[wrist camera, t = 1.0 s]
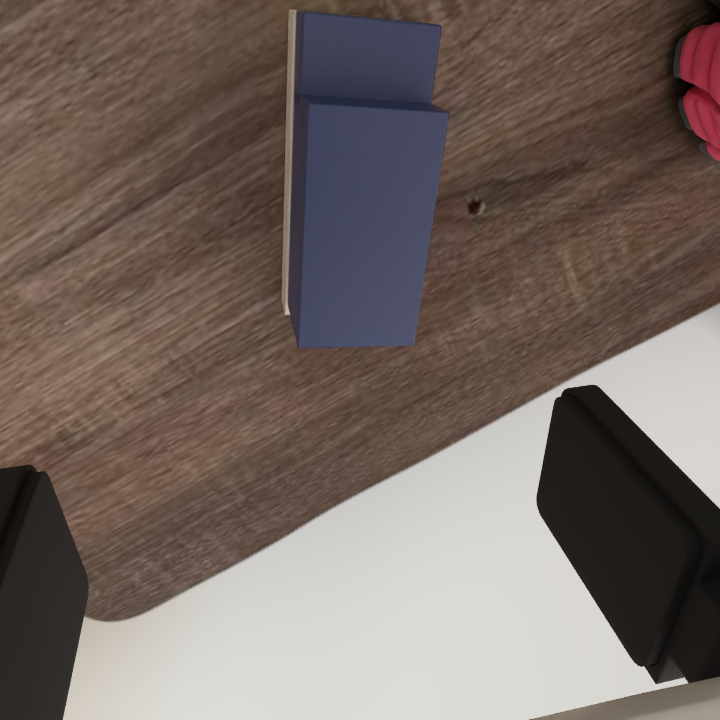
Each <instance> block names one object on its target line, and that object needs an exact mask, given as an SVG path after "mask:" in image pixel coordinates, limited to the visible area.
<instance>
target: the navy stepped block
mask: <svg viewBox="0 0 720 720" xmlns="http://www.w3.org/2000/svg"><path fill="white" fill-rule="evenodd" d="M441 28H442V27H441V25H437V24H429V23H421V22H412V21H402V20H392V19H382V18H372V17H362V16H352V15H342V14H332V13H322V12H313V11H303V10H293V9H290V10H289V19H288V60H287V101H286V142H285V182H284V223H283V264H282V304H283V308H284V312H285V315H290V317H291V321H292V325H293V329H294V333H295V337H296V341H297V345H298V348H331V347H371V346H410V345H414V342H415V335H416V329H417V322H418V316H419V309H420V303H421V296H422V289H423V283H424V276H425V270H426V263H427V257H428V250H429V243H430V237H431V230H432V224H433V217H434V210H435V204H436V197H437V191H438V184H439V178H440V171H441V164H442V158H443V151H444V145H445V138H446V132H447V125H448V118H449V112H447V111H445V110H443V109H441V108H439V107H437V106H435V105H433V104H431V101H432V94H433V87H434V80H435V72H436V65H437V58H438V50H439V43H440V36H441Z"/></svg>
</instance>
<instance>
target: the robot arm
mask: <svg viewBox="0 0 720 720" xmlns="http://www.w3.org/2000/svg"><path fill="white" fill-rule="evenodd" d="M537 507H538V510H539V513H540V515H541V517H542V518H543V520H544V521H545V523H546V525H547V526H548V528H549V529H550V531H551V533H552V534H553V536H554V537H555V539H556V540H557V542H558V543H559V545H560V546H561V548H562V550H563V551H564V553H565V555H566V556H567V558H568V559H569V561H570V562H571V564H572V566H573V567H574V569H575V570H576V572H577V574H578V575H579V576H580V578H581V580H582V581H583V583H584V584H585V586H586V588H587V589H588V591H589V592H590V594H591V596H592V597H593V599H594V600H595V602H596V603H597V605H598V607H599V608H600V610H601V611H602V613H603V614H604V616H605V618H606V619H607V621H608V622H609V624H610V626H611V627H612V629H613V630H614V632H615V633H616V635H617V637H618V638H619V640H620V641H621V643H622V645H623V646H624V648H625V649H626V651H627V652H628V654H629V656H630V657H631V658H632V660H633V661H634V662H635V663H636V664H637V665H638V666H641V667H642V666H645V668H646V669H647V671H648V673H649V674H650V676H651V677H652V679H653V680H654V682H655V683H656V684H658V683H663V682H666V681H671V680H674V679H679V678H683V677H685V678H686V680H687V681H688V684H684V685H679V686H674V687H670V688H665V689H660V690H656V691H651V692H646V693H642V694H637V695H633V696H629V697H624V698H620V699H616V700H612V701H607V702H603V703H599V704H594V705H590V706H586V707H582V708H578V709H573V710H569V711H565V712H560V713H556V714H552V715H548V716H543V717H539V718H535V719H530V720H720V509H719V508H718V507H717V506H716V505H715V504H714V503H713V502H712V501H711V500H710V499H709V498H708V497H707V496H706V495H705V494H704V493H703V492H702V491H701V489H700V488H699V487H698V486H696V485H695V483H694V482H692V480H691V479H689V477H688V476H687V475H686V474H685V473H684V472H682V470H681V469H680V468H679V467H678V466H677V465H676V464H675V463H674V462H673V461H672V460H671V459H670V458H669V457H668V456H667V455H666V454H665V453H664V452H663V451H662V450H661V449H660V448H659V447H658V446H657V445H656V444H655V443H654V442H653V441H652V440H651V439H650V438H649V437H648V436H647V435H646V434H645V433H644V432H643V431H642V430H641V429H640V428H639V427H638V426H637V425H636V424H635V423H634V422H633V421H632V420H631V419H630V418H629V417H628V416H627V415H626V414H625V413H624V412H623V411H622V410H621V409H620V408H619V407H618V406H617V405H616V404H615V403H614V402H613V401H612V400H611V399H610V398H609V397H608V396H607V395H606V394H605V393H604V392H603V391H602V390H601V389H600V388H599V387H597V386H596V385H587V386H580V387H573V388H567V389H565V390H564V391H563V392H562V395H561V397H558V398H556V400H555V402H554V406H553V411H552V417H551V423H550V427H549V433H548V439H547V444H546V449H545V455H544V460H543V465H542V470H541V476H540V481H539V487H538V492H537ZM88 589H89V587H88V578H87V574H86V572H85V569H84V566H83V564H82V561H81V559H80V556H79V553H78V551H77V548H76V546H75V543H74V540H73V538H72V535H71V533H70V530H69V527H68V525H67V522H66V519H65V517H64V514H63V512H62V509H61V506H60V504H59V501H58V499H57V496H56V493H55V491H54V488H53V486H52V483H51V480H50V478H49V476H48V474H47V473H46V472H44V471H42V472H37V471H36V469H35V468H34V467H33V466H32V465H24V466H17V467H10V468H3V469H0V720H63V715H64V711H65V706H66V701H67V695H68V690H69V686H70V681H71V677H72V672H73V667H74V662H75V657H76V652H77V647H78V643H79V638H80V633H81V627H82V623H83V618H84V614H85V609H86V604H87V599H88Z"/></svg>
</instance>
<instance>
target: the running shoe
mask: <svg viewBox="0 0 720 720" xmlns="http://www.w3.org/2000/svg"><path fill="white" fill-rule="evenodd" d="M709 1H710V2H711V3H712V4H714V5H716V6H717V7H718V8H719V9H720V0H709ZM673 75H674V76H675V77H677V78H681V79H683V80H685V81H687V82H689V83H692V84H694V85H695V86H694V87H693V88H691V89H689V90H688V91H687V93H686V94H685V96H682V97H681V98H680V99H679V101H678V107H679V110H680V113H681V116H682V119H683V121H684V124H685V126H686V128H687V129H689V130H693V131H694V132H695V134H696V135H698V136H699V137H701V138H700V140H699V144H698V145H699V149H700V150H701V151H702V152H703V153H704V154H705V155H707V156H708V157H709V158H711V159H713V160H718V161H720V22H716V23H713V24H712V25H701V26H698V27H695V28H693V29H692V30H691V31H690V32H689V33H688V34H686V35H684V36H682V37H681V38H680V39H679V40H678V43H677V45H676V51H675V58H674V65H673Z"/></svg>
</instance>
